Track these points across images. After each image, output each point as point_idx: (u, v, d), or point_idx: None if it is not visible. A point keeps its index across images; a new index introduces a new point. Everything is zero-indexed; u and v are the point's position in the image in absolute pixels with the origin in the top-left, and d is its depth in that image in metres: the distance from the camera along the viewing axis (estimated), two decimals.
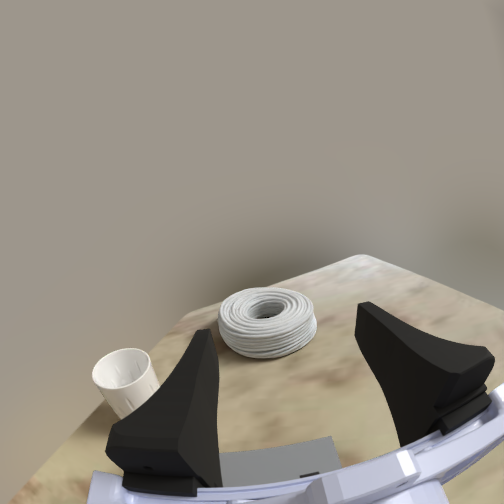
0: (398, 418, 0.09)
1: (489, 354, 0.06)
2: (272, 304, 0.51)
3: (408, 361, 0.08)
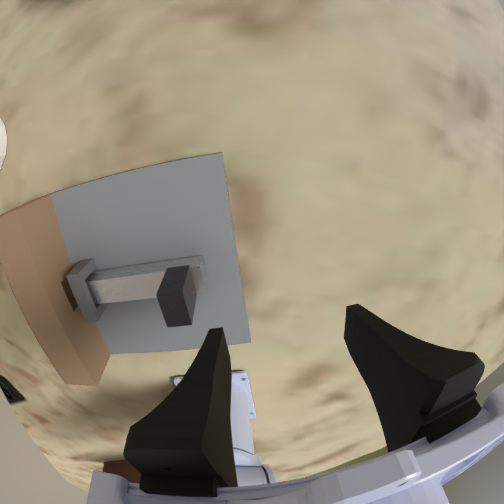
0: (386, 422, 0.09)
1: (478, 361, 0.06)
2: None
3: (394, 366, 0.08)
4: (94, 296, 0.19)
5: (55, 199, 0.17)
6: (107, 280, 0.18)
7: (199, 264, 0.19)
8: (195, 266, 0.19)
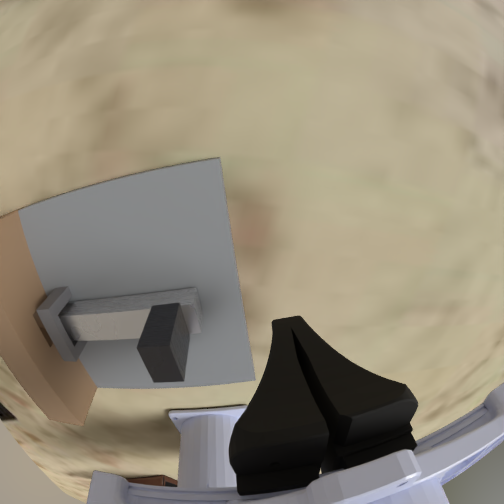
0: None
1: (405, 396, 0.06)
2: None
3: (317, 388, 0.08)
4: (71, 332, 0.15)
5: (22, 216, 0.13)
6: (83, 316, 0.14)
7: (192, 301, 0.15)
8: (187, 303, 0.15)
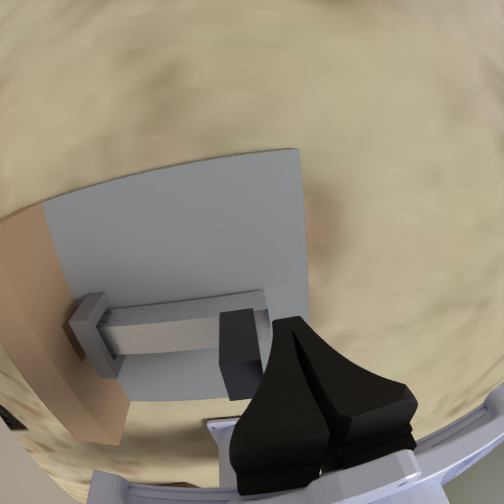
0: None
1: (404, 396, 0.06)
2: None
3: (316, 388, 0.08)
4: (110, 345, 0.13)
5: (48, 209, 0.12)
6: (128, 327, 0.13)
7: (265, 305, 0.13)
8: (261, 308, 0.13)
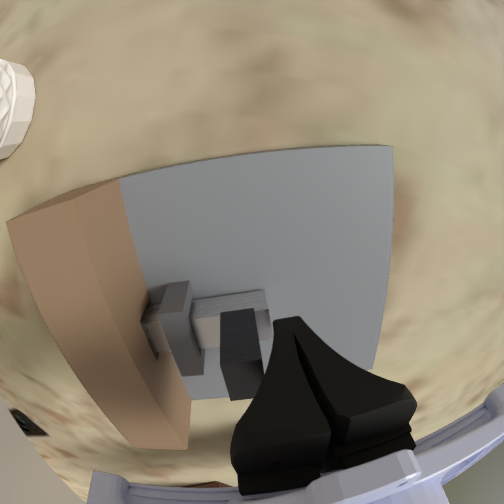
0: None
1: (403, 397, 0.06)
2: None
3: (316, 388, 0.08)
4: None
5: (126, 187, 0.12)
6: None
7: (266, 305, 0.13)
8: (262, 308, 0.13)
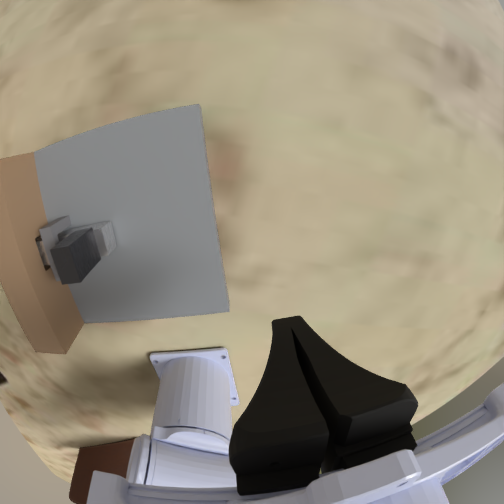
0: None
1: (405, 396, 0.06)
2: None
3: (317, 388, 0.08)
4: None
5: (37, 157, 0.16)
6: None
7: (101, 227, 0.17)
8: (97, 228, 0.17)
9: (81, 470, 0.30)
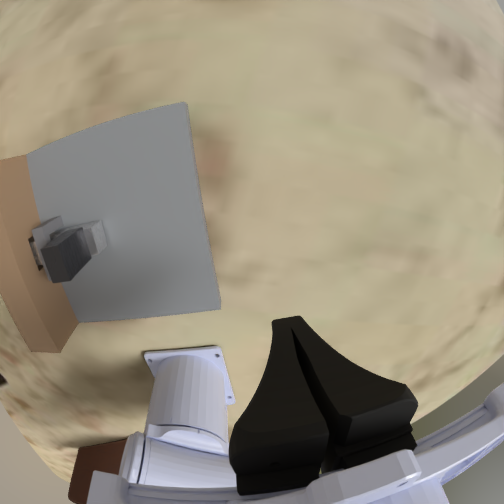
0: None
1: (405, 396, 0.06)
2: None
3: (317, 388, 0.08)
4: None
5: (29, 159, 0.16)
6: None
7: (91, 226, 0.17)
8: (87, 228, 0.17)
9: (80, 470, 0.30)
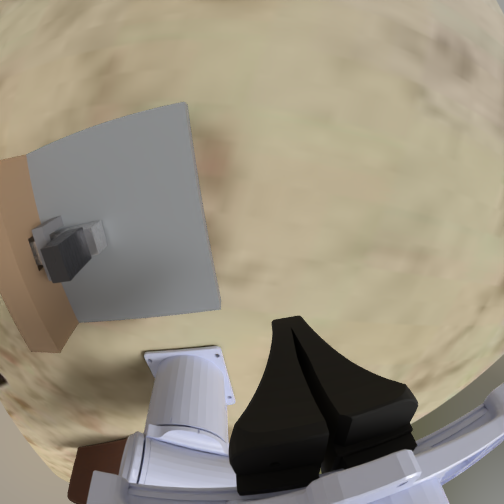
0: None
1: (405, 396, 0.06)
2: None
3: (317, 388, 0.08)
4: None
5: (29, 159, 0.16)
6: None
7: (91, 226, 0.17)
8: (87, 228, 0.17)
9: (79, 469, 0.29)
